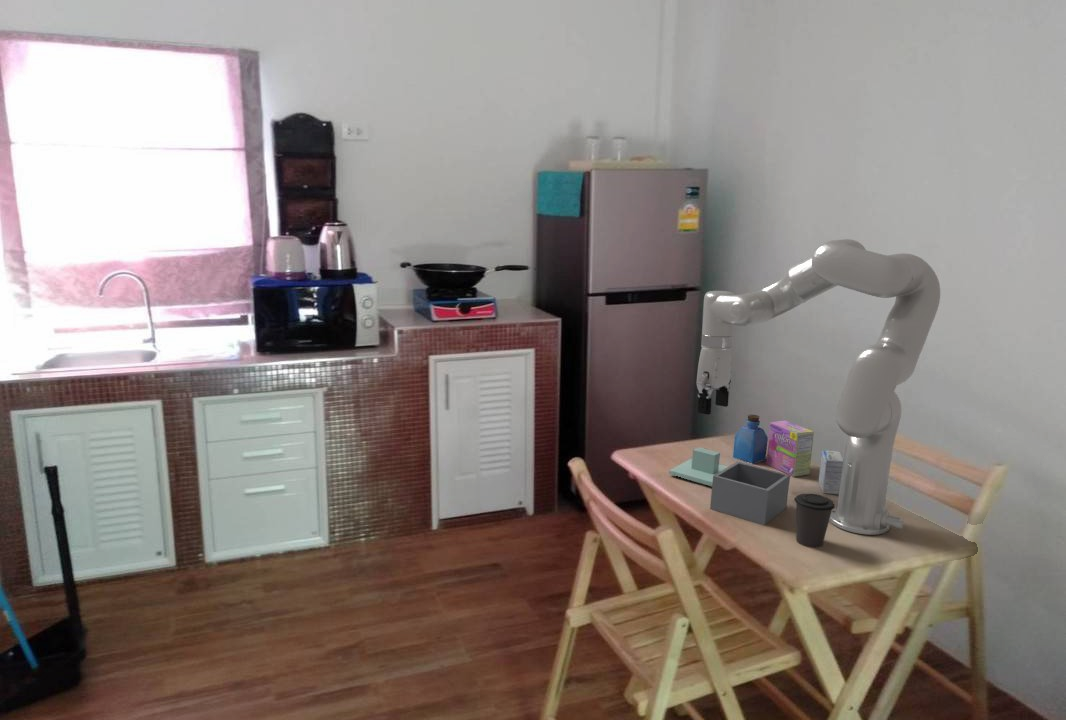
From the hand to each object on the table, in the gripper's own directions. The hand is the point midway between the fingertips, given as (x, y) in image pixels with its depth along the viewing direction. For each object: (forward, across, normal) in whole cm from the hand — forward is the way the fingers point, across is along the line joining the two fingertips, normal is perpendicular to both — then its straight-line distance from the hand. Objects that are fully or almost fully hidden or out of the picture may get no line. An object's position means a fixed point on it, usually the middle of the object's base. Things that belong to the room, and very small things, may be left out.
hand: (713, 409), depth 203 cm
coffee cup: (+19, +20, +33) cm, 43 cm away
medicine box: (+19, -14, +26) cm, 35 cm away
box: (+18, -20, +13) cm, 30 cm away
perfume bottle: (+18, -21, +2) cm, 28 cm away
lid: (+18, 0, -1) cm, 18 cm away
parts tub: (+18, +12, +16) cm, 27 cm away
